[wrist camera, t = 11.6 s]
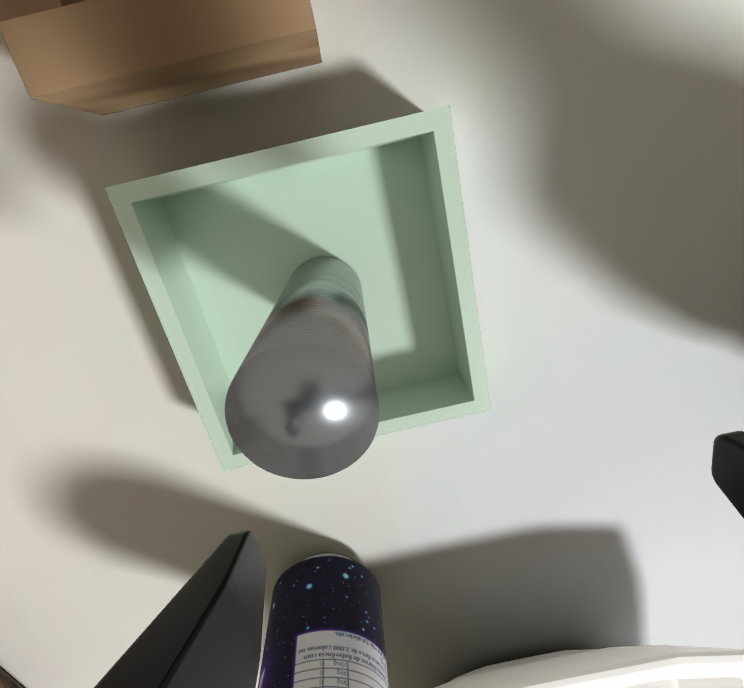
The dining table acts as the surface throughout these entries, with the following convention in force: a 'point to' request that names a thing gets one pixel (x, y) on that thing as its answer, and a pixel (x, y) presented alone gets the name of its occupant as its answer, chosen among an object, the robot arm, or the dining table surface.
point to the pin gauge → (308, 378)
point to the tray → (312, 239)
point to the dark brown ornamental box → (8, 681)
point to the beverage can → (325, 627)
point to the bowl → (614, 669)
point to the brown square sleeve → (151, 47)
